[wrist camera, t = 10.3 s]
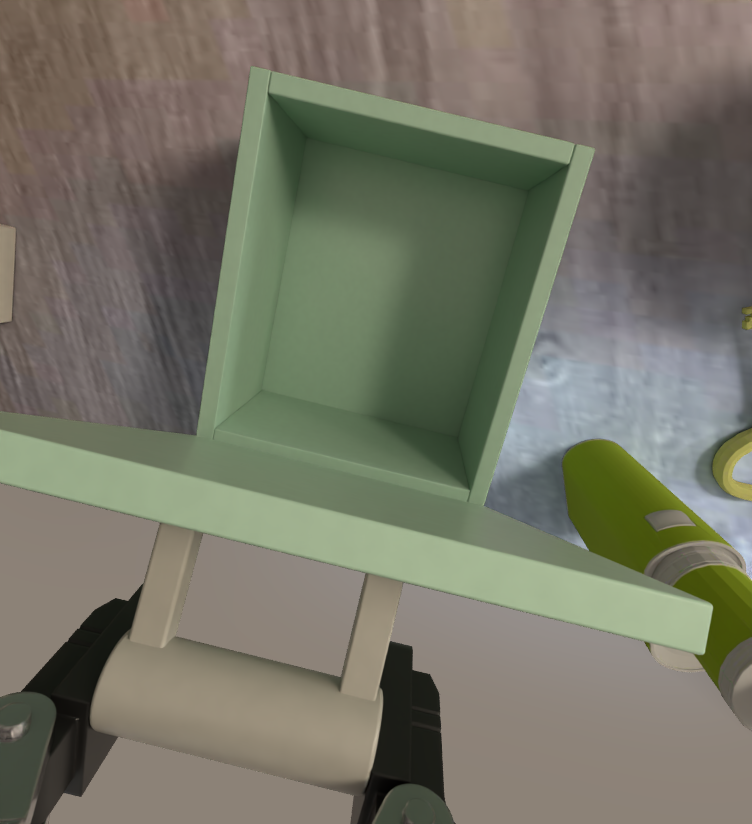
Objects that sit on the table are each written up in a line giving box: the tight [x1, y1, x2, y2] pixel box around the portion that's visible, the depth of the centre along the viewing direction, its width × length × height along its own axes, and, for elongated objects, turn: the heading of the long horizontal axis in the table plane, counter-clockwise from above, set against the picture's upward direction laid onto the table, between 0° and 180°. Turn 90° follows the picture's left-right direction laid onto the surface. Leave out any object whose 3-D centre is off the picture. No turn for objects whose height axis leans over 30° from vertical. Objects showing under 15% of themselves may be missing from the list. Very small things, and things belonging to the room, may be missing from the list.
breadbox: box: [196, 66, 595, 506], centre depth 27 cm, size 16×14×9 cm
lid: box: [0, 411, 713, 796], centre depth 16 cm, size 16×14×5 cm
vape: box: [562, 439, 752, 731], centre depth 24 cm, size 4×6×20 cm, turn 11°
